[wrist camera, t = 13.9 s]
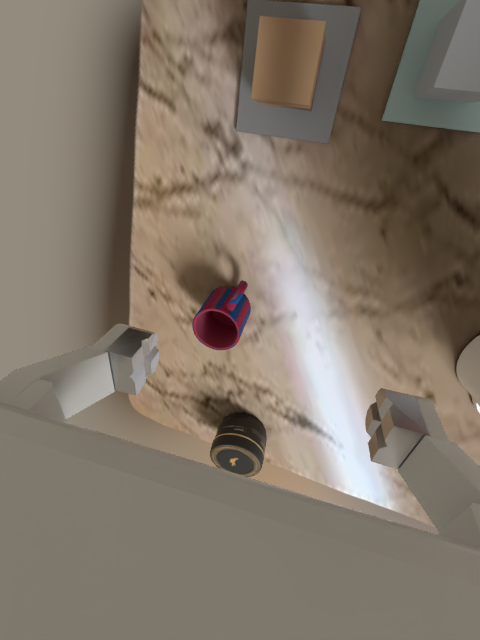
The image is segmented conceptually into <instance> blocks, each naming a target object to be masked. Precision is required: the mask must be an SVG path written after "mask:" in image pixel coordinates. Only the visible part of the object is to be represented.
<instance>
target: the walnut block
mask: <svg viewBox="0 0 480 640" xmlns="http://www.w3.org/2000/svg"><path fill="white" fill-rule="evenodd" d="M325 33H326V21H316V20H304V19H291V18H279V17H266V16H260V19H259V29H258V38H257V47H256V57H255V66H254V76H253V85H252V94H251V98H252V99H253V100H255V101H257V102H259V103H260V104H262V105H266V106H274V107H282V108H291V109H299V110H307V111H312V106H313V101H314V96H315V91H316V86H317V81H318V76H319V71H320V66H321V61H322V57H323V52H324V47H325Z"/></svg>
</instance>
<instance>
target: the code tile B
mask: <svg viewBox="0 0 480 640" xmlns="http://www.w3.org/2000/svg"><path fill="white" fill-rule="evenodd" d="M459 1H460V0H419V3H418V6H417V9H416V12H415V15H414V19H413V22H412V25H411V28H410V31H409V34H408V38H407V41H406V44H405V47H404V50H403V53H402V56H401V60H400V63H399V66H398V69H397V72H396V75H395V78H394V82H393V85H392V88H391V91H390V94H389V97H388V101H387V104H386V107H385V110H384V113H383V116H382V119H381V121H388V122H396V123H404V124H412V125H420V126H428V127H436V128H444V129H452V130H460V131H468V132H476V133H480V101H479V102H475V103H462V102H453V101H444V100H435V99H426V98H417V97H413V95H414V92H415V89H416V87H417V84H418V81H419V78H420V75H421V72H422V70H423V67H424V64H425V61H426V58H427V56H428V53H429V50H430V47H431V44H432V41H433V39H434V36H435V33H436V30H437V27H438V25H439V22H440V20H441V19H442V18H443V17H444V16H445V15H446V14H447V13H448V12H449V11H450V10H451V9H452V8H453V7H454V6H455V5H456V4H457V3H458V2H459Z"/></svg>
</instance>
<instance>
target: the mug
mask: <svg viewBox="0 0 480 640" xmlns="http://www.w3.org/2000/svg"><path fill="white" fill-rule="evenodd" d="M247 286H248V284H247V283H246V282H245V281H243V280H242V281H241V282H240V283H239V285H238V286H237V288H233V287H220V288H217V289H216V290H214V291H213V292H212V293H211V295H210V296H209V298H208V299H207V300H206V302H205V303H204V304H203V306H202V307H201V309H200V310H199V311H198V313H197V314H196V316H195V317H194V319H193V331H194V334H195V335H196V337H197V338H198V340H199V341H200V342H201V343H203V344H204V345H205V346H207V347H209V348H212V349H215V350H227V349H230V348H232V347H234V346H235V345H236V344H237V343H238V341H239V339H240V336H241V334H242V331H243V329H244V327H245V324H246V322H247V319H248V317H249V314H250V309H251V308H250V303H249V300H248V298H247V297H246V296H245V295H244V294H243V293H244V292H245V290H246V288H247Z"/></svg>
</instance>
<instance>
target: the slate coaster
mask: <svg viewBox="0 0 480 640" xmlns="http://www.w3.org/2000/svg"><path fill="white" fill-rule="evenodd" d="M360 11H361V7H354V6H340V5H326V4H313V3H299V2H285V1H271V0H248V2H247V13H246V25H245V36H244V47H243V59H242V70H241V81H240V93H239V104H238V115H237V126H236V131H239V132H246V133H254V134H261V135H268V136H275V137H283V138H290V139H297V140H304V141H312V142H319V143H326V144H328V143H329V139H330V135H331V131H332V127H333V123H334V119H335V114H336V110H337V106H338V102H339V98H340V94H341V90H342V86H343V82H344V77H345V73H346V69H347V65H348V61H349V57H350V53H351V49H352V44H353V40H354V36H355V32H356V28H357V24H358V20H359V16H360ZM260 16H266V17H279V18H291V19H304V20H316V21H326V33H325V47H324V52H323V57H322V61H321V66H320V71H319V76H318V81H317V86H316V91H315V96H314V101H313V106H312V111H307V110H299V109H291V108H282V107H274V106H266V105H262V104H260V103H259V102H257V101H255V100H253V99H252V98H251V94H252V85H253V76H254V66H255V57H256V47H257V38H258V29H259V19H260Z"/></svg>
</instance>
